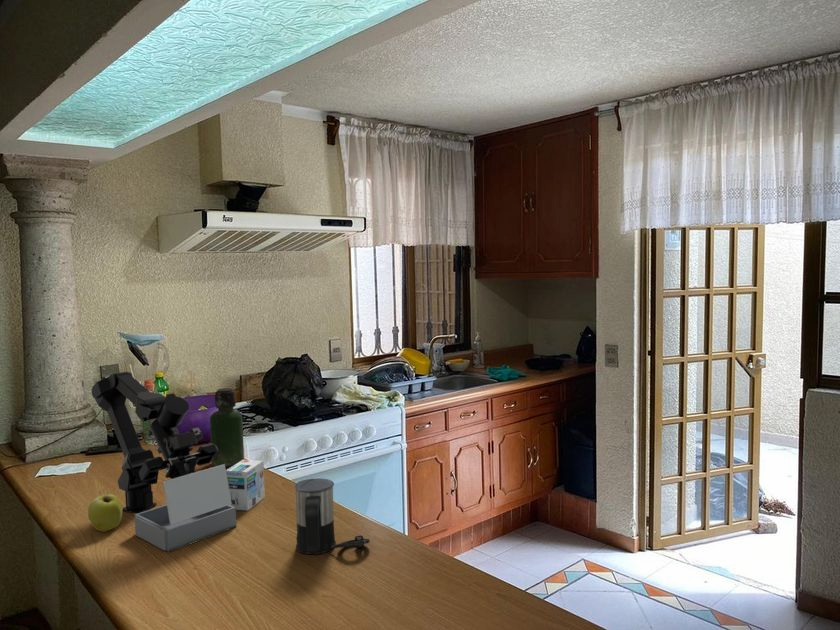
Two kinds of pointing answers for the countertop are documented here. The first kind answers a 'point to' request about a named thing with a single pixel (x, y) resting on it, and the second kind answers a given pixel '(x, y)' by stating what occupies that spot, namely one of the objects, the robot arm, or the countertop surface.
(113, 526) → the apple
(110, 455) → the countertop surface
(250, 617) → the countertop surface
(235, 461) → the green bottle
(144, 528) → the grey shallow open box
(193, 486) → the grey box lid
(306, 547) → the milk frother
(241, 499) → the light bulb box
